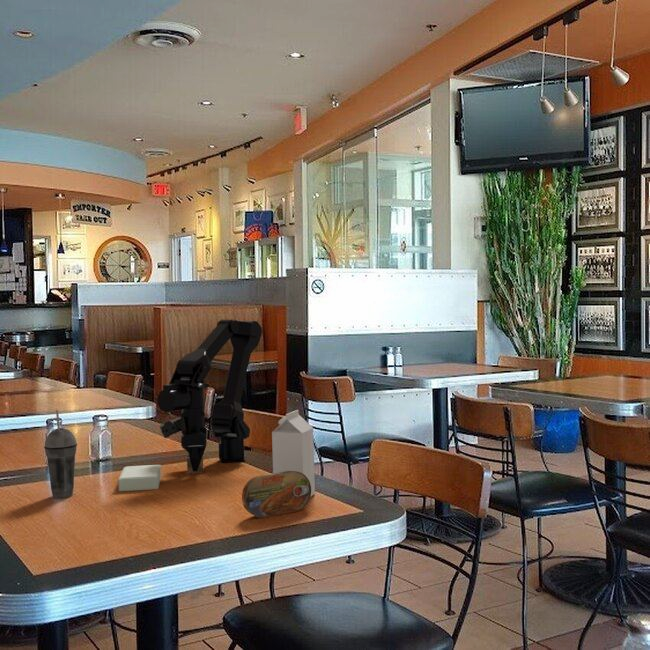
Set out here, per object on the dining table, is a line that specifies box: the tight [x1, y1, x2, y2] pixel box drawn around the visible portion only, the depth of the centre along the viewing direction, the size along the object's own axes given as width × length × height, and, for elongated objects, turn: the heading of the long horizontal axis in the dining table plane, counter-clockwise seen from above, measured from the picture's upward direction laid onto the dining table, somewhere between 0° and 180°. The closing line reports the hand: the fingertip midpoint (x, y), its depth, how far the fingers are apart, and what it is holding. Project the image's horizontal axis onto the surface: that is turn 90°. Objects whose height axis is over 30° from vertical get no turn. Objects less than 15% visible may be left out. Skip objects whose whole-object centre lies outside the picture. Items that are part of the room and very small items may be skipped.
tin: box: [241, 471, 312, 519], centre depth 166 cm, size 15×3×8 cm, turn 120°
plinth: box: [117, 464, 162, 492], centre depth 196 cm, size 9×14×3 cm, turn 9°
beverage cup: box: [43, 409, 78, 499], centre depth 185 cm, size 7×7×20 cm
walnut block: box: [186, 454, 204, 475], centre depth 208 cm, size 4×4×4 cm
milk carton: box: [271, 409, 316, 498], centre depth 178 cm, size 7×7×19 cm
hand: (195, 467), depth 208 cm, fingers open, 9 cm apart
